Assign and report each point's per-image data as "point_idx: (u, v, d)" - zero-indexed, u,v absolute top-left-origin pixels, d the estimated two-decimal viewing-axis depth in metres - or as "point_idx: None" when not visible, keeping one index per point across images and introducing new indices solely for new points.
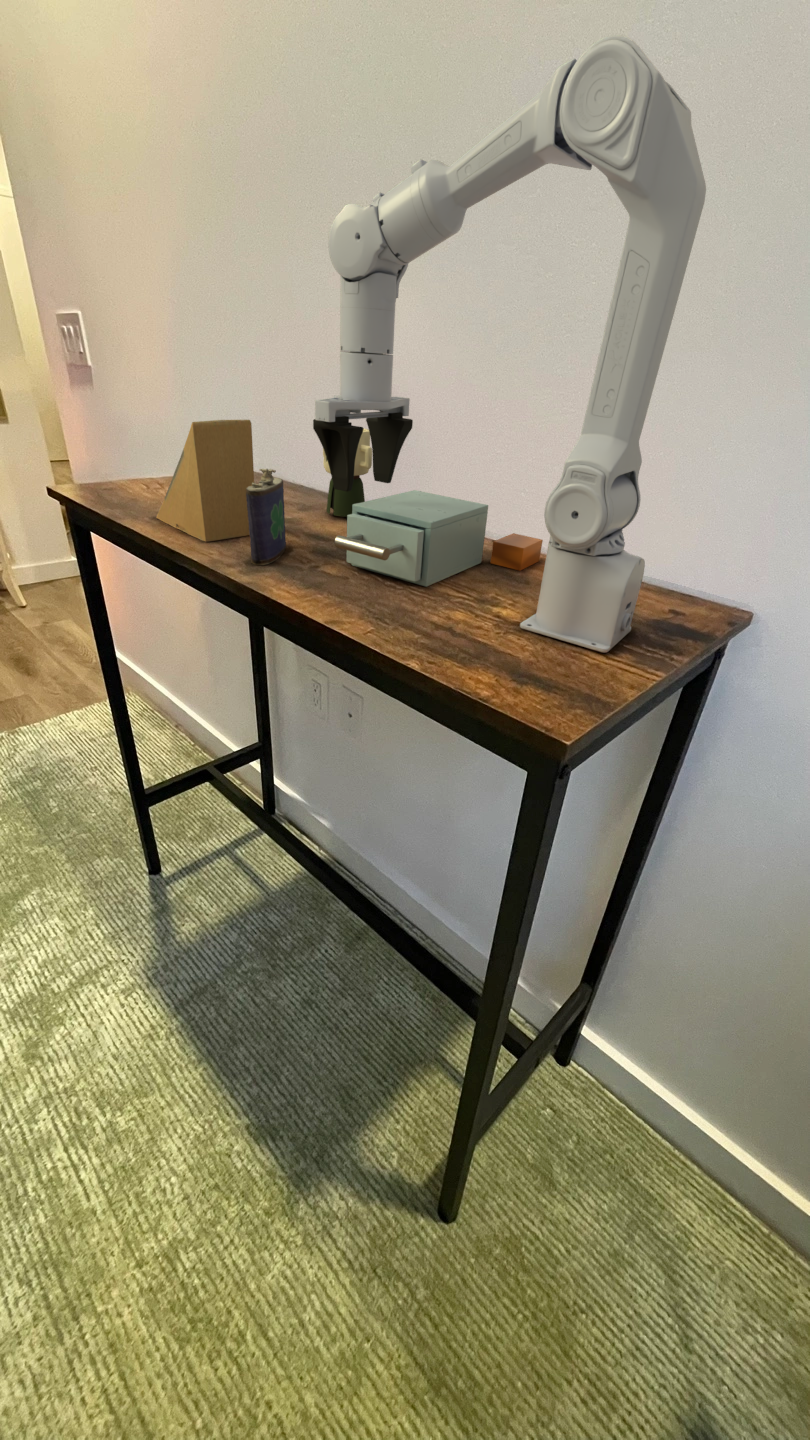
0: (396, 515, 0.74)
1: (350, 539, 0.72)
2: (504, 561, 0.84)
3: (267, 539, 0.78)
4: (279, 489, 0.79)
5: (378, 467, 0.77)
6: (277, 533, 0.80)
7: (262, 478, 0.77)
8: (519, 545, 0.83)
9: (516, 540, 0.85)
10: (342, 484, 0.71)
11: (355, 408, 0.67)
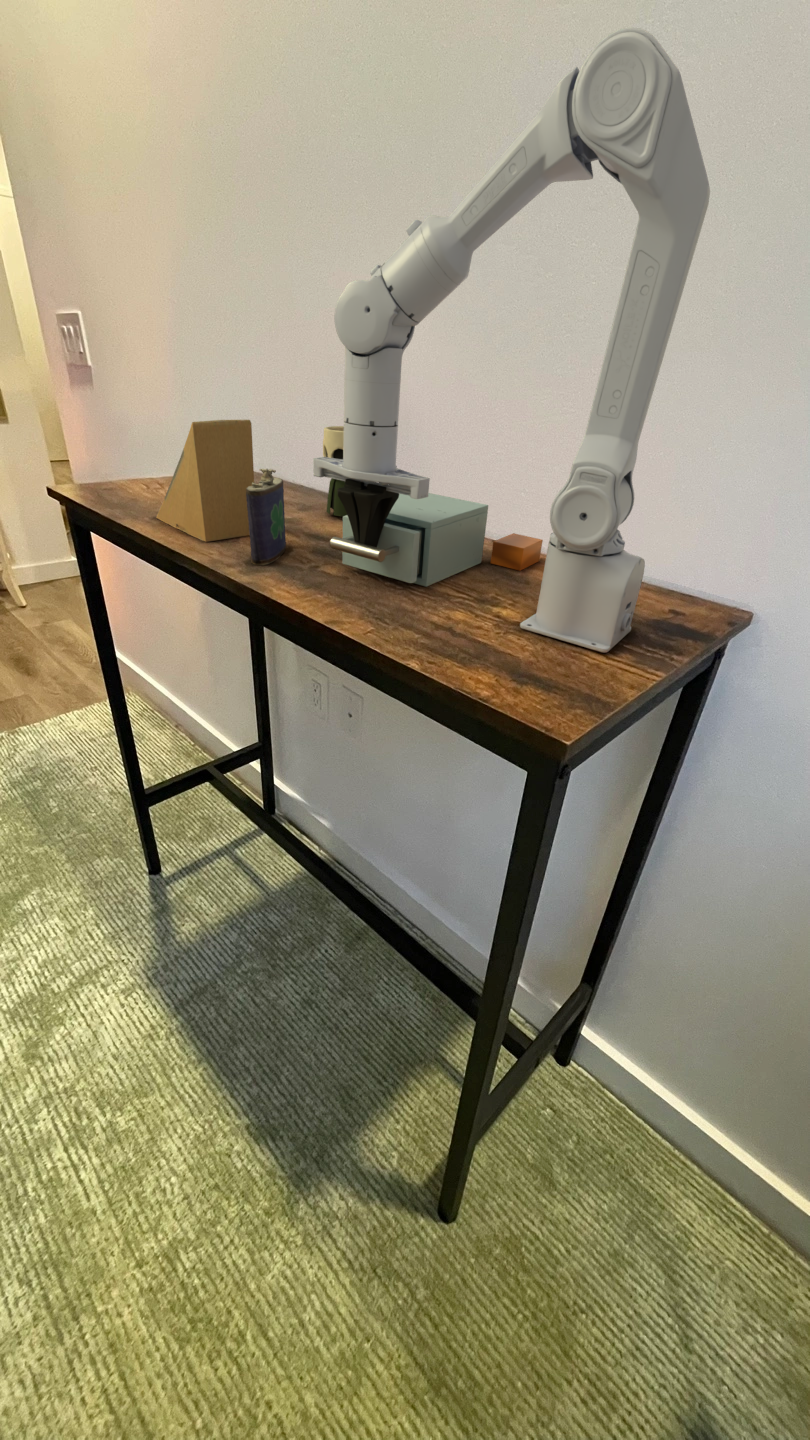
0: (396, 515, 0.74)
1: (346, 540, 0.72)
2: (504, 561, 0.84)
3: (267, 539, 0.78)
4: (279, 489, 0.79)
5: None
6: (277, 533, 0.80)
7: (262, 478, 0.77)
8: (519, 545, 0.83)
9: (516, 540, 0.85)
10: None
11: (330, 469, 0.70)
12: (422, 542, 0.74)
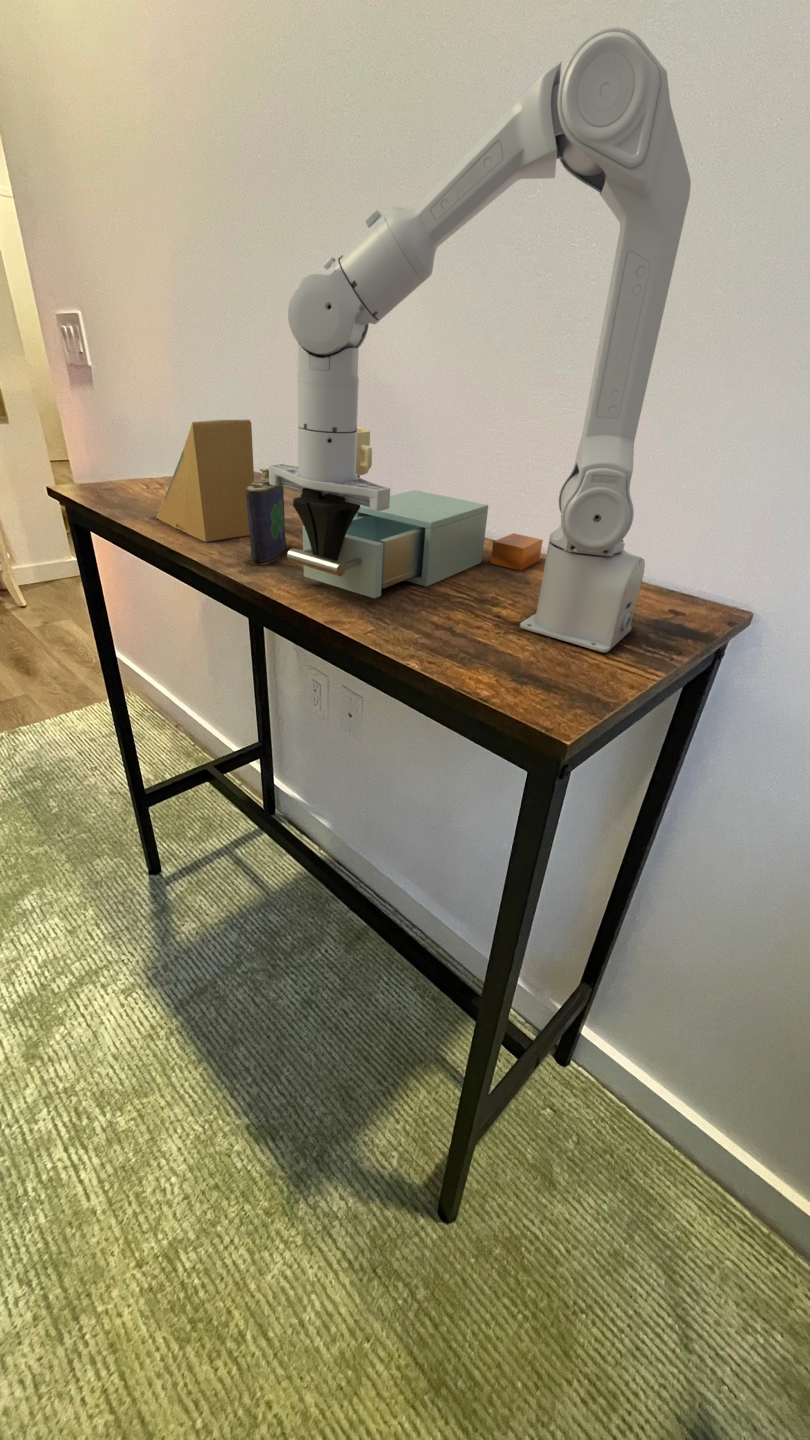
0: (396, 515, 0.74)
1: (304, 553, 0.67)
2: (504, 561, 0.84)
3: (267, 539, 0.78)
4: (279, 489, 0.79)
5: None
6: (277, 533, 0.80)
7: (262, 478, 0.77)
8: (519, 545, 0.83)
9: (516, 540, 0.85)
10: None
11: (285, 478, 0.65)
12: (387, 554, 0.69)
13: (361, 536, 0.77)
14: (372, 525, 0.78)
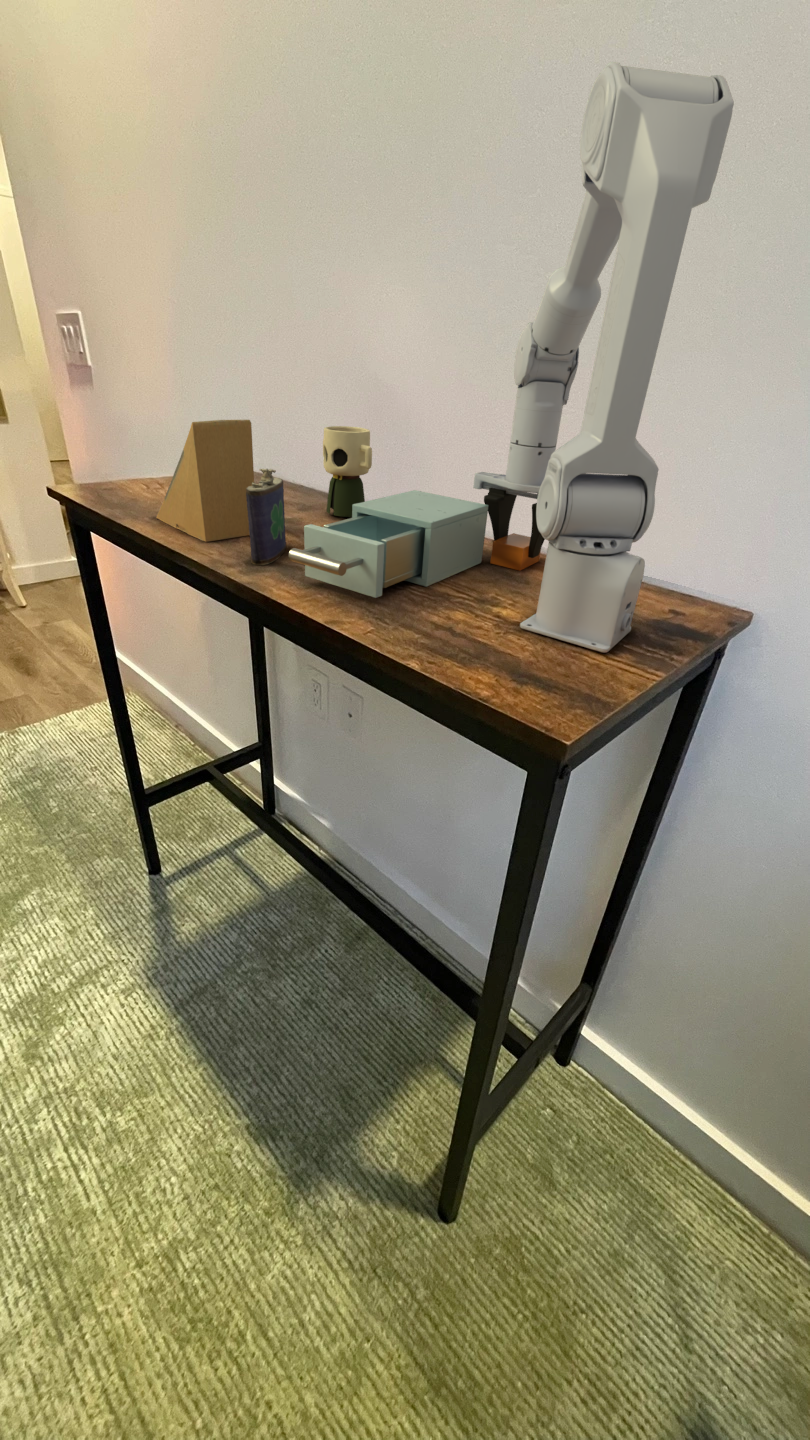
0: (396, 515, 0.74)
1: (305, 552, 0.67)
2: (503, 561, 0.84)
3: (267, 539, 0.78)
4: (279, 489, 0.79)
5: None
6: (277, 533, 0.80)
7: (262, 478, 0.77)
8: (519, 545, 0.83)
9: (516, 540, 0.85)
10: None
11: (492, 483, 0.82)
12: (388, 554, 0.69)
13: (362, 536, 0.78)
14: (373, 525, 0.79)
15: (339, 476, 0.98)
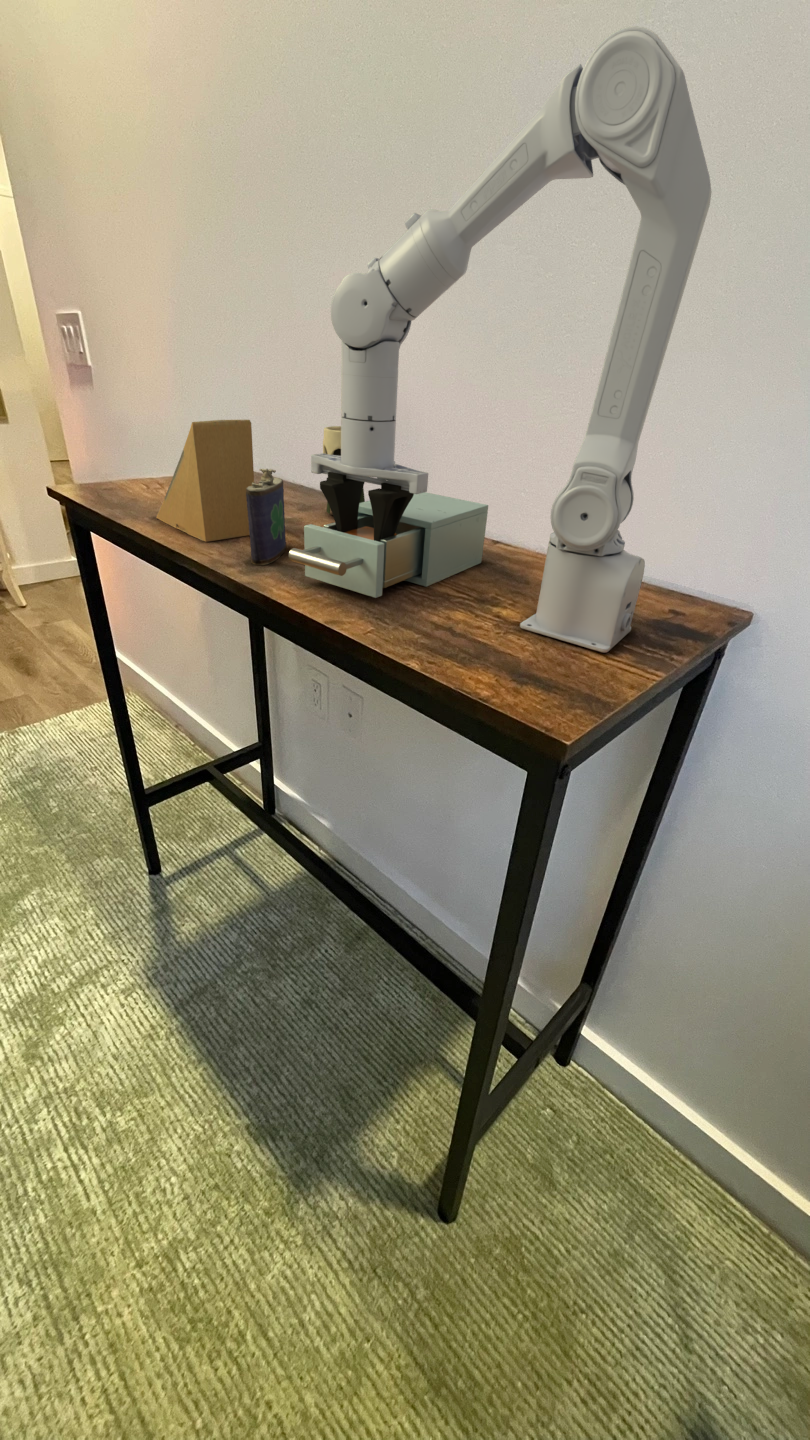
0: None
1: (305, 552, 0.67)
2: None
3: (267, 539, 0.78)
4: (279, 489, 0.79)
5: None
6: (277, 533, 0.80)
7: (262, 478, 0.77)
8: None
9: (363, 534, 0.72)
10: None
11: (328, 465, 0.69)
12: (388, 554, 0.69)
13: None
14: (373, 525, 0.79)
15: None
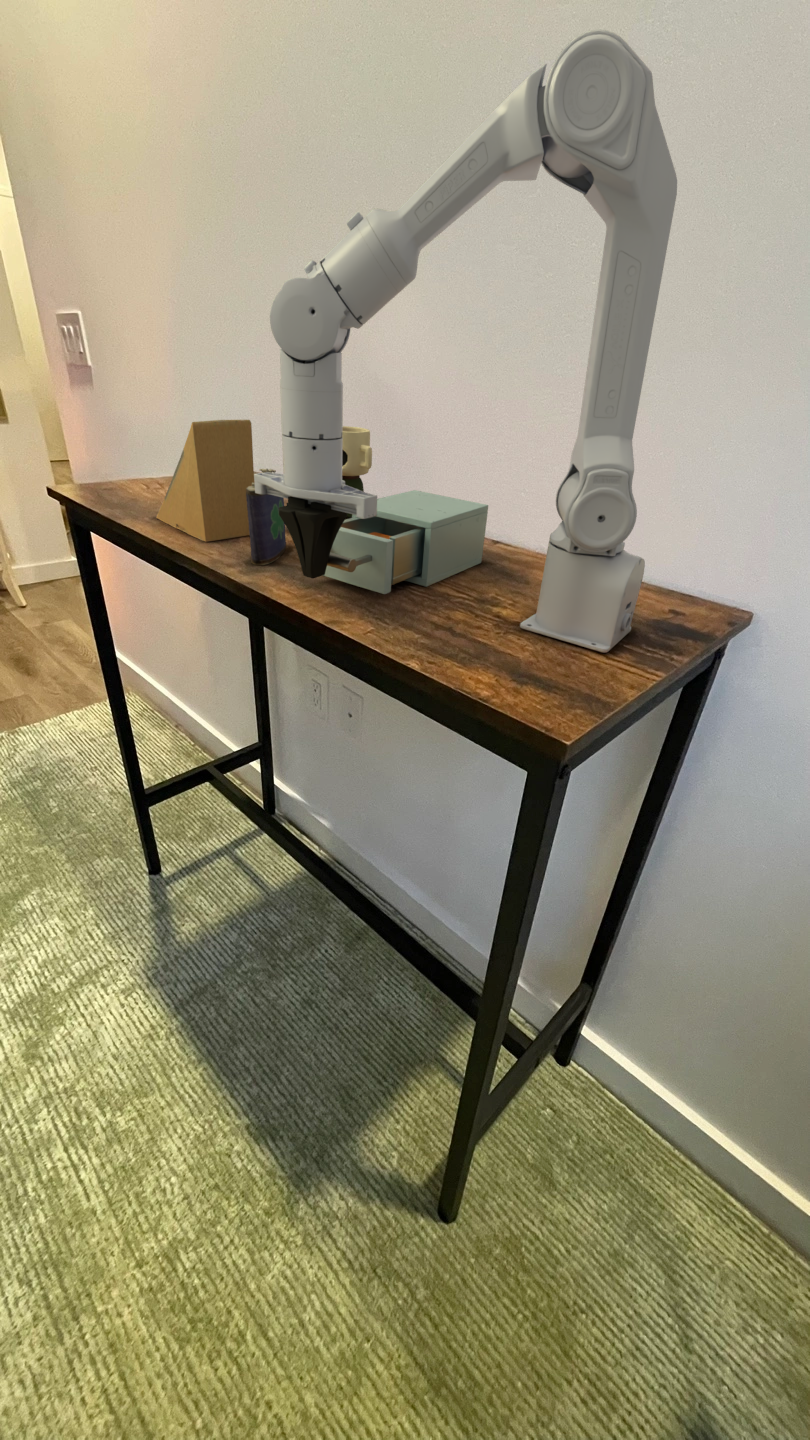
0: (396, 515, 0.74)
1: None
2: None
3: (267, 539, 0.78)
4: None
5: None
6: (277, 533, 0.80)
7: None
8: None
9: None
10: None
11: (271, 486, 0.63)
12: (396, 551, 0.70)
13: None
14: (381, 523, 0.80)
15: None
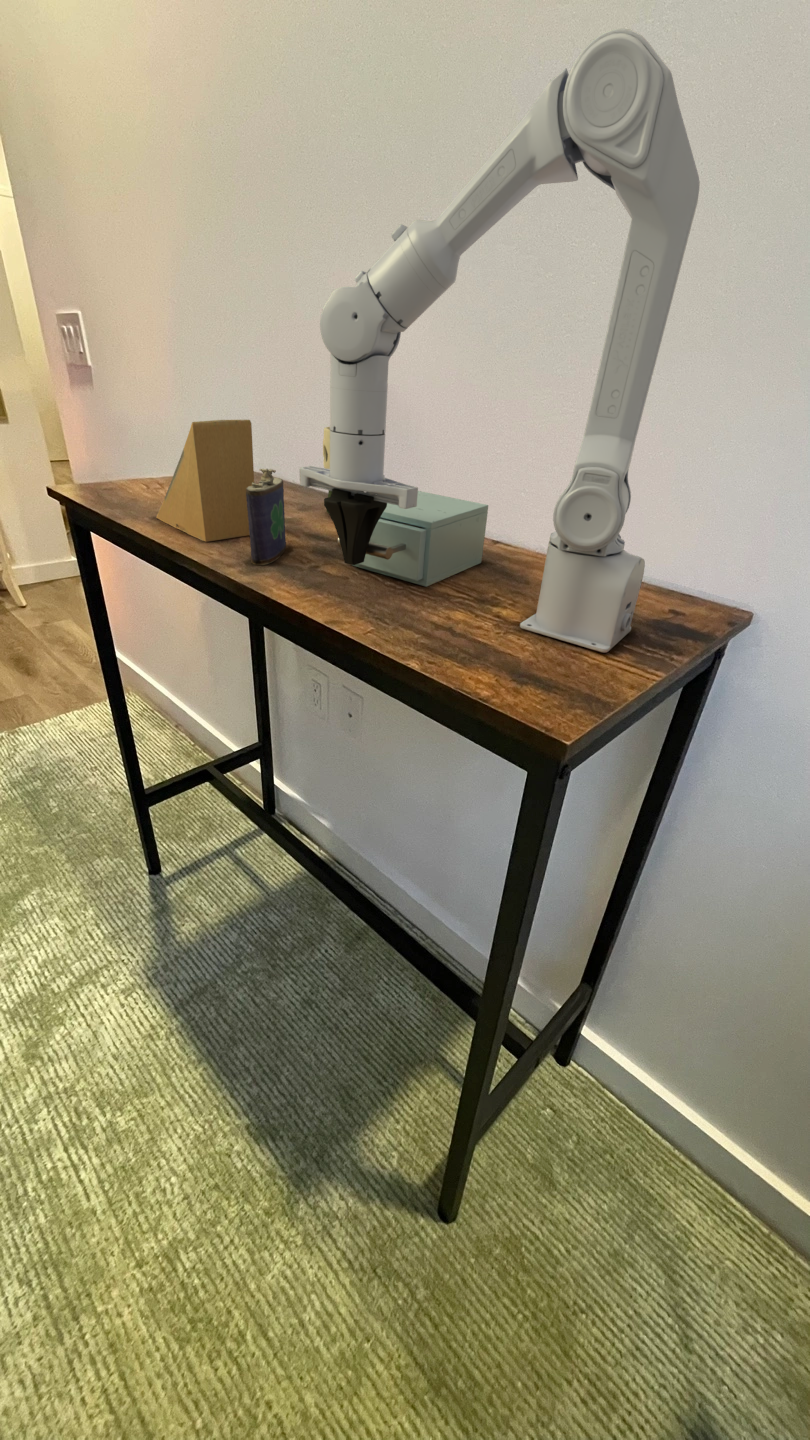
0: (396, 515, 0.74)
1: None
2: None
3: (267, 539, 0.78)
4: (279, 489, 0.79)
5: None
6: (277, 533, 0.80)
7: (262, 478, 0.77)
8: None
9: None
10: None
11: (316, 479, 0.68)
12: None
13: None
14: None
15: None
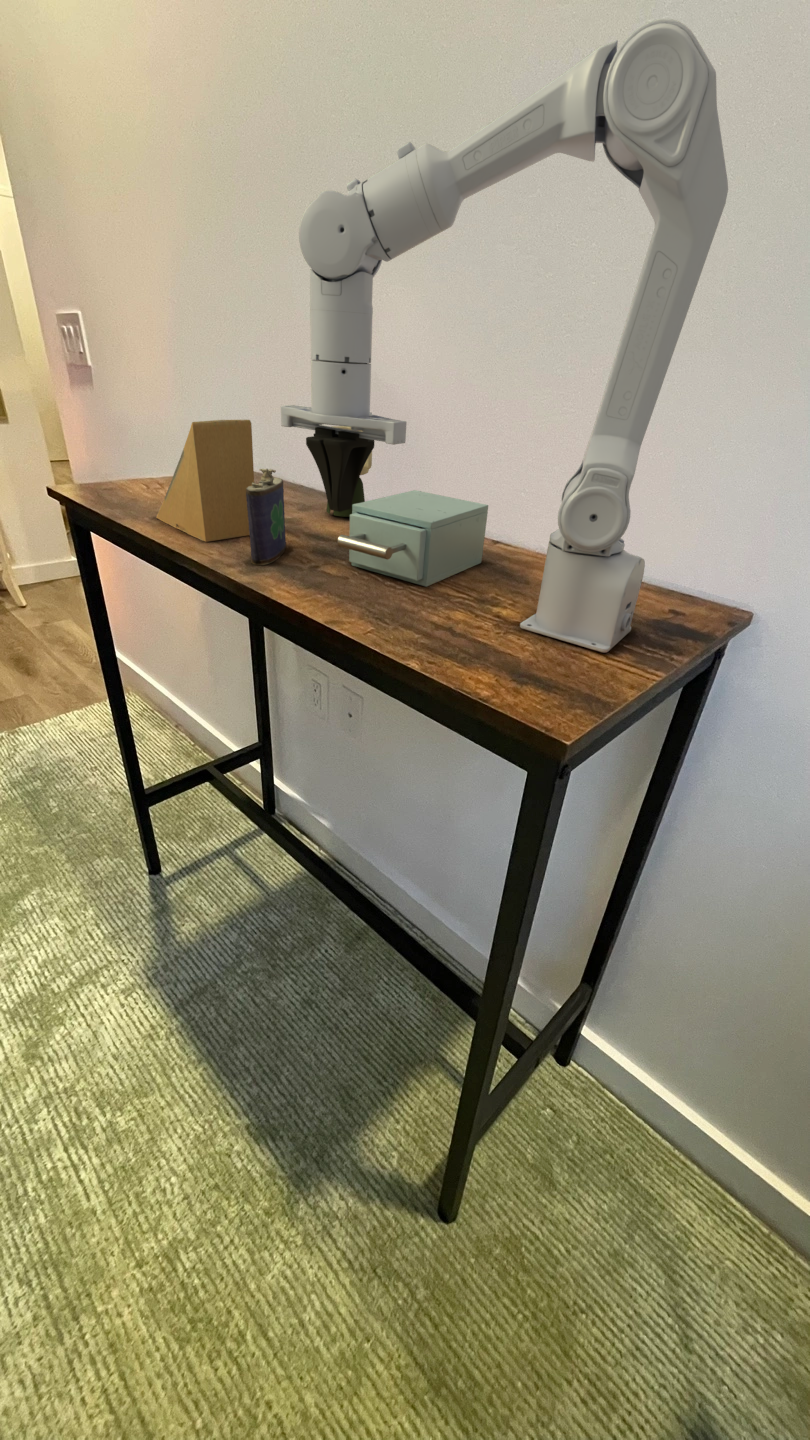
0: (396, 515, 0.74)
1: (353, 538, 0.73)
2: None
3: (267, 539, 0.78)
4: (279, 489, 0.79)
5: None
6: (277, 533, 0.80)
7: (262, 478, 0.77)
8: None
9: None
10: None
11: (298, 416, 0.63)
12: None
13: None
14: None
15: None
